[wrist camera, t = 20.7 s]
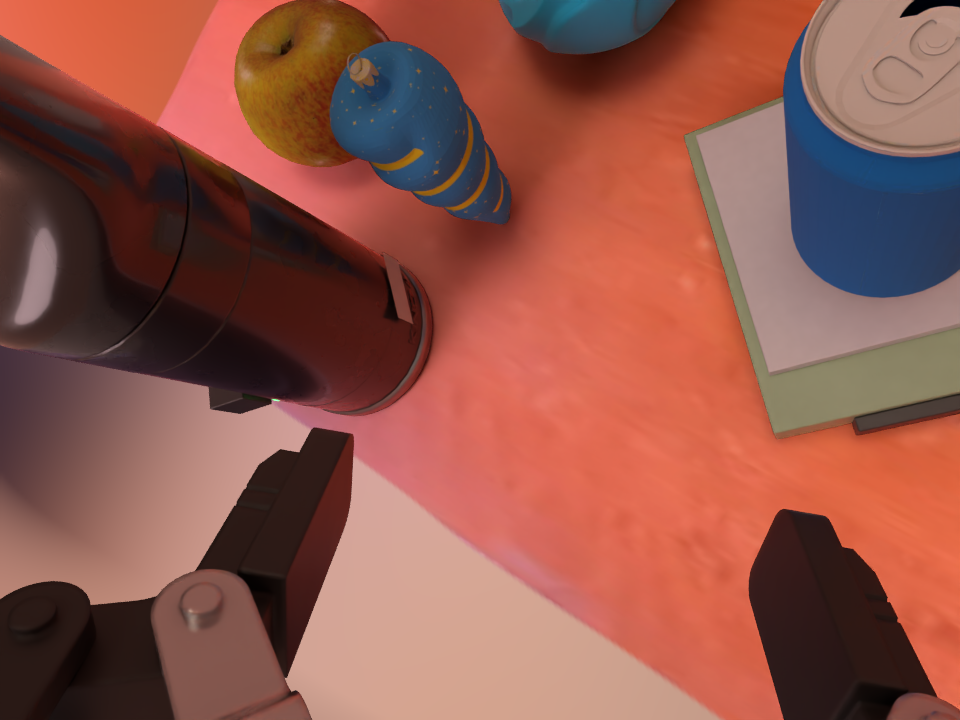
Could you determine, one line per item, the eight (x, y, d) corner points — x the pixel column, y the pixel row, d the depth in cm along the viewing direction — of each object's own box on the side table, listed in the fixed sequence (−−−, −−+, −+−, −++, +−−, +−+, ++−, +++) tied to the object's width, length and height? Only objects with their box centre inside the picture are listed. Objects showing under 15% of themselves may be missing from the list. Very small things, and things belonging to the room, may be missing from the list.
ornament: (451, 251, 40) (270, 124, 26) (478, 165, 40) (312, -4, 27) (534, 268, 37) (381, 137, 24) (561, 177, 38) (426, -3, 24)
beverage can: (1029, 214, 25) (1192, 3, 15) (881, 337, 27) (931, 227, 16) (884, 111, 28) (932, -131, 17) (756, 228, 29) (726, 69, 18)
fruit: (422, 29, 43) (346, -64, 36) (431, 162, 41) (353, 91, 34) (296, 79, 47) (205, 4, 40) (299, 204, 45) (203, 147, 38)
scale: (780, 453, 31) (777, 447, 27) (692, 162, 35) (679, 126, 31) (1115, 380, 26) (1160, 363, 23) (970, 58, 30) (991, 2, 27)
